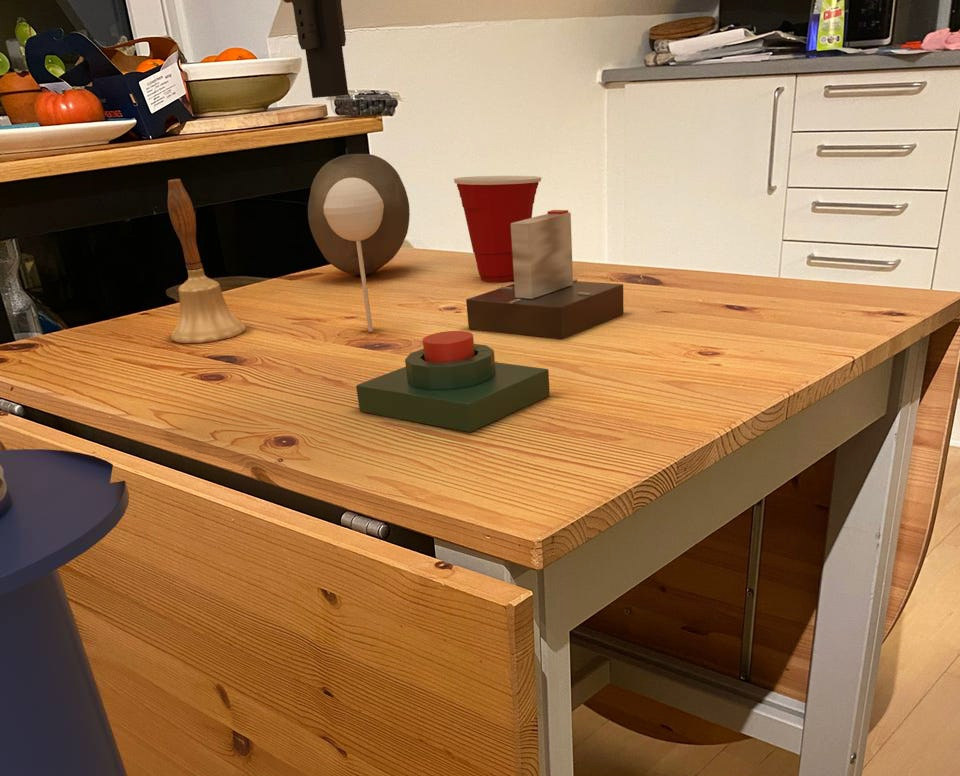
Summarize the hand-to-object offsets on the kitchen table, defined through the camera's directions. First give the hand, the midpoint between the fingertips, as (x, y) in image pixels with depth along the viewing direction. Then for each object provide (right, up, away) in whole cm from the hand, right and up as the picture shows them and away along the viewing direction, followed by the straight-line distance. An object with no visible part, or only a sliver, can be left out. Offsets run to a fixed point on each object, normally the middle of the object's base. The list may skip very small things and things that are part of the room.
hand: (330, 96), depth 79 cm
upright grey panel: (+19, -8, +21) cm, 30 cm away
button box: (+10, -25, 0) cm, 27 cm away
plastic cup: (+15, +2, +46) cm, 49 cm away
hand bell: (-18, -10, +31) cm, 38 cm away
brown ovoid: (-3, +6, +56) cm, 56 cm away
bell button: (+10, -22, -1) cm, 24 cm away
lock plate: (+19, -11, +23) cm, 32 cm away
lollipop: (0, -11, +26) cm, 28 cm away
